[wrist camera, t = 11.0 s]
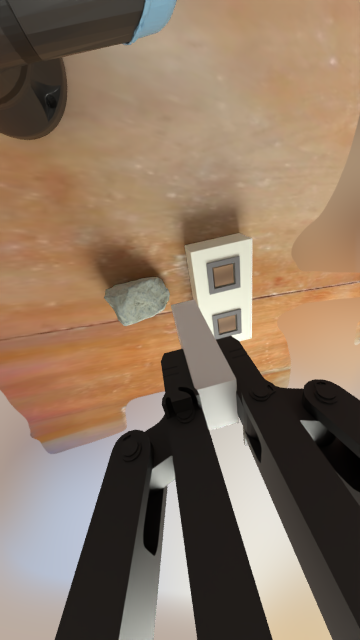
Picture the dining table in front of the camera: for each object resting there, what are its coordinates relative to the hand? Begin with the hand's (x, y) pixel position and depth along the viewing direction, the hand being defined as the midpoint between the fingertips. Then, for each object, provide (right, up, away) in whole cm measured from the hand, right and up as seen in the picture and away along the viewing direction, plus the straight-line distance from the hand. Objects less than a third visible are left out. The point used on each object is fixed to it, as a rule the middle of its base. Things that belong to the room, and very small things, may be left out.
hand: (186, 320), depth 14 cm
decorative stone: (-10, +6, +35) cm, 37 cm away
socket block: (+8, +7, +38) cm, 40 cm away
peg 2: (+9, +2, +41) cm, 42 cm away
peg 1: (+7, +12, +35) cm, 37 cm away
